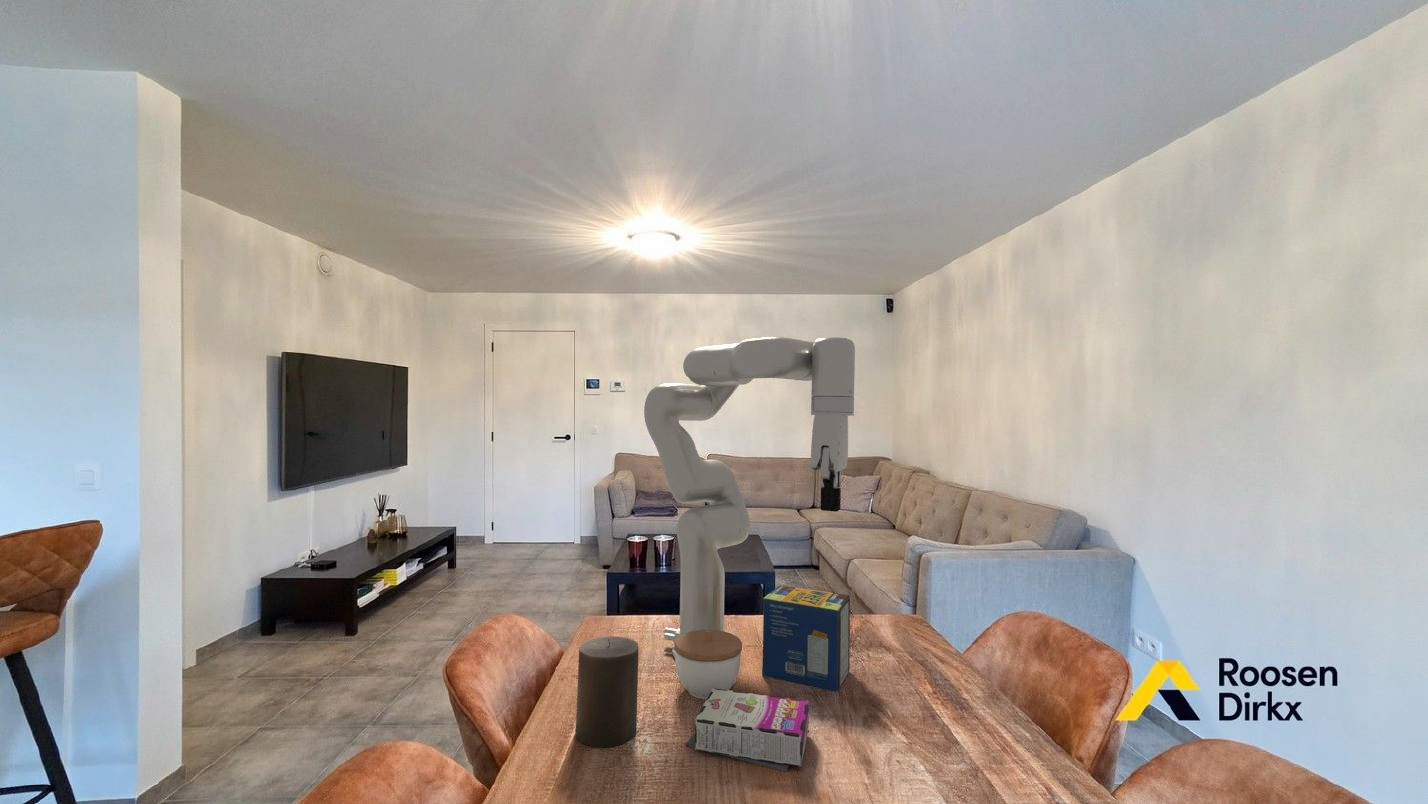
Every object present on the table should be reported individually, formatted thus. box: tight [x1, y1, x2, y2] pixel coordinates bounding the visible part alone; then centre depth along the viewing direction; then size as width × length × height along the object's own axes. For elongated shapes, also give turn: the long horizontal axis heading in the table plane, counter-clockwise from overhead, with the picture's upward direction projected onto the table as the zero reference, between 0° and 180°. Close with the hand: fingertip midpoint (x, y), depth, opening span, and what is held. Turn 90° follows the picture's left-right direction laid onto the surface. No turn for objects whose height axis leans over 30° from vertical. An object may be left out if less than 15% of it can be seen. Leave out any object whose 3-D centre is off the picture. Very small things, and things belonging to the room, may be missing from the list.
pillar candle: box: [575, 635, 640, 748], centre depth 96 cm, size 10×10×15 cm
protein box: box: [761, 584, 851, 693], centre depth 119 cm, size 10×15×16 cm
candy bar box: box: [694, 688, 810, 767], centre depth 93 cm, size 11×5×16 cm
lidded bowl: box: [674, 630, 743, 700], centre depth 111 cm, size 13×13×11 cm
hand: (830, 510), depth 106 cm, fingers closed
